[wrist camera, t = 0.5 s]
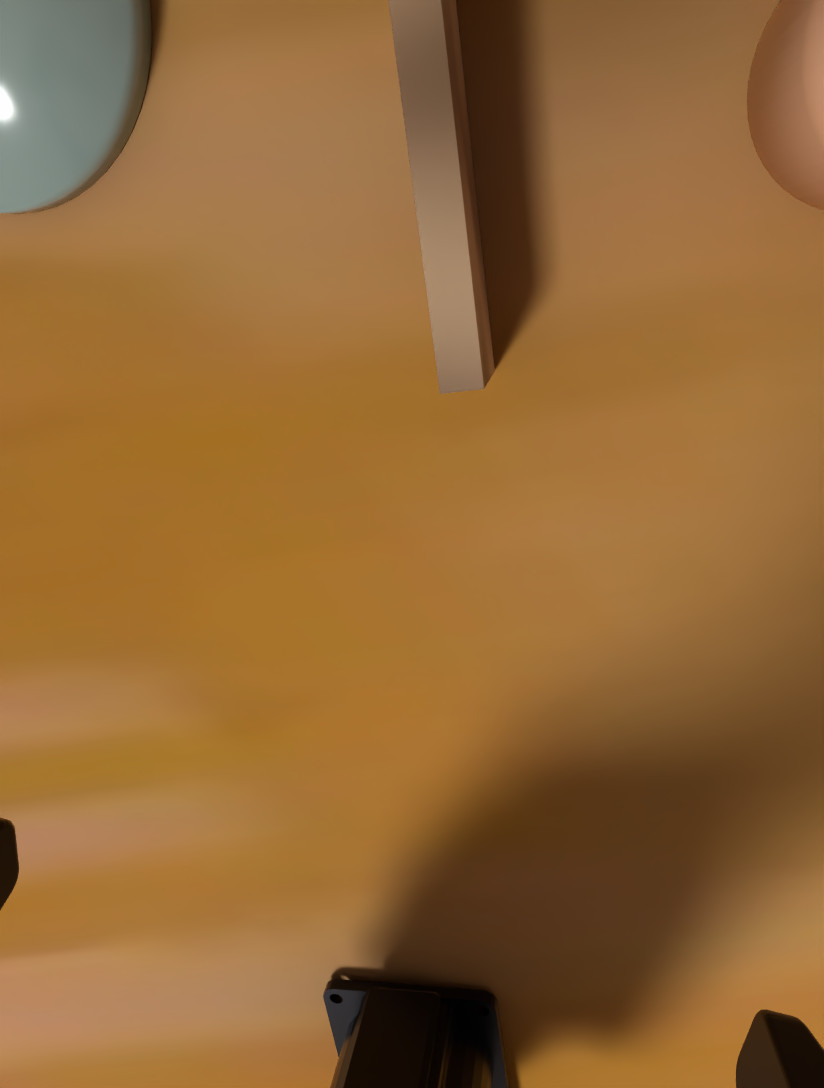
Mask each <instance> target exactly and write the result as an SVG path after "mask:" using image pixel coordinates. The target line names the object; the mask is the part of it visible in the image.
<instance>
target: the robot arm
mask: <svg viewBox="0 0 824 1088" xmlns="http://www.w3.org/2000/svg"><path fill="white" fill-rule="evenodd" d="M18 873H19V862H18V853H17V844H16V834H15V828H14V825H13V824H12V822H11V821H9V820H7V819H3V818H0V910H1V908H2V907H3V905H4V903H5V902H6V900H7V899H8V897H9V895H10V894H11V892H12V890H13V889H14V886H15V884H16V882H17V878H18ZM324 1002H325V1005H326V1009H327V1013H328V1017H329V1021H330V1025H331V1029H332V1033H333V1037H334V1041H335V1044H336V1048H337V1052H338V1056H339V1059H338V1063H337V1066H336V1070H335V1073H334V1077H333V1080H332V1084H331V1087H330V1088H510V1087H509V1080H508V1073H507V1066H506V1059H505V1052H504V1045H503V1038H502V1032H501V1025H500V1018H499V1011H498V1004H497V1000H496V998H495V997H494V996H493V995H492V994H491V993H489V992H486V991H480V990H467V989H454V988H441V987H428V986H415V985H402V984H389V983H376V982H363V981H350V980H337V979H336V980H331V981H329V982H328V983H327V985H326V988H325V991H324ZM736 1088H824V1049H823V1048H822V1047H821V1045H820V1044H819V1042H818V1041H817V1040H816V1038H815V1037H814V1036H813V1034H812V1033H811V1032H810V1030H809V1029H808V1028H807V1026H806V1025H805V1024H804V1023H803V1022H802V1021H801V1020H799V1019H798V1018H796V1017H793V1016H790V1015H786V1014H782V1013H778V1012H774V1011H770V1010H760V1011H759V1012H758V1013H757V1014H756V1015H755V1017H754V1019H753V1022H752V1024H751V1027H750V1029H749V1032H748V1034H747V1037H746V1039H745V1042H744V1044H743V1047H742V1049H741V1051H740V1054H739V1057H738V1060H737V1066H736Z"/></svg>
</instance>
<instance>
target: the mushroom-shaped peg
mask: <svg viewBox="0 0 824 1088" xmlns="http://www.w3.org/2000/svg"><path fill="white" fill-rule="evenodd" d="M747 110H748V122H749V127H750V132H751V137H752V140H753V143H754V146H755V149H756V151H757V153H758V155H759V157H760V159H761V161H762V163H763V165H764V167H765V168H766V169H767V171H768V172H769V174H770V175H771V176H772V178H773V179H774V180H775V181H776V182H777V183H778V184H779V185H780V186H781V187H782V188H783V189H784V190H785V191H787V192H788V193H790V194H791V195H792V196H794V197H795V198H796V199H798V200H800V201H802V202H804V203H806V204H808V205H810V206H813V207H816V208H819V209H822V210H824V0H781V1H780V3H779V4H778V6H777V7H776V9H775V10H774V12H773V14H772V16H771V18H770V19H769V21H768V23H767V25H766V27H765V29H764V31H763V34H762V36H761V38H760V41H759V43H758V45H757V49H756V52H755V55H754V58H753V62H752V66H751V71H750V76H749V81H748V94H747Z"/></svg>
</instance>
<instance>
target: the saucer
mask: <svg viewBox="0 0 824 1088" xmlns="http://www.w3.org/2000/svg"><path fill="white" fill-rule="evenodd" d="M151 33H152V25H151V11H150V0H0V213H10V214H23V213H32V212H39V211H43V210H47V209H50V208H54V207H57V206H59V205H61V204H63V203H65V202H67V201H70V200H72V199H74V198H76V197H77V196H78V195H80V194H81V193H83V192H84V191H85V190H87V189H88V188H90V187H91V186H92V185H93V184H94V183H95V182H96V181H97V180H98V179H99V178H100V177H101V176H102V175H103V174H104V173H105V172H106V171H107V170H108V169H109V168H110V166H111V165H112V164H113V162H114V161H115V160H116V158H117V157H118V156H119V154H120V153H121V151H122V149H123V147H124V145H125V144H126V142H127V140H128V138H129V136H130V134H131V132H132V130H133V127H134V125H135V122H136V120H137V117H138V115H139V112H140V109H141V105H142V101H143V98H144V94H145V90H146V86H147V80H148V73H149V66H150V59H151Z"/></svg>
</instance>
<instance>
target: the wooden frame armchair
mask: <svg viewBox="0 0 824 1088" xmlns="http://www.w3.org/2000/svg"><path fill="white" fill-rule="evenodd" d="M389 8H390V16H391V23H392V31H393V39H394V46H395V54H396V61H397V69H398V77H399V84H400V92H401V100H402V107H403V115H404V122H405V130H406V138H407V145H408V153H409V161H410V168H411V176H412V183H413V191H414V199H415V206H416V214H417V222H418V229H419V237H420V245H421V252H422V260H423V267H424V275H425V283H426V290H427V298H428V306H429V313H430V321H431V328H432V336H433V344H434V351H435V359H436V367H437V374H438V382H439V389H440V394H442V393H451V392H460V391H469V390H478V389H484V388H485V386H486V385H487V383H488V381H489V380H490V378H491V376H492V375H493V373H494V371H495V369H494V359H493V350H492V340H491V331H490V321H489V312H488V302H487V293H486V283H485V273H484V264H483V254H482V245H481V235H480V226H479V216H478V207H477V197H476V188H475V178H474V169H473V159H472V149H471V140H470V130H469V121H468V111H467V102H466V92H465V83H464V73H463V64H462V54H461V44H460V35H459V25H458V16H457V6H456V0H389Z"/></svg>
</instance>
